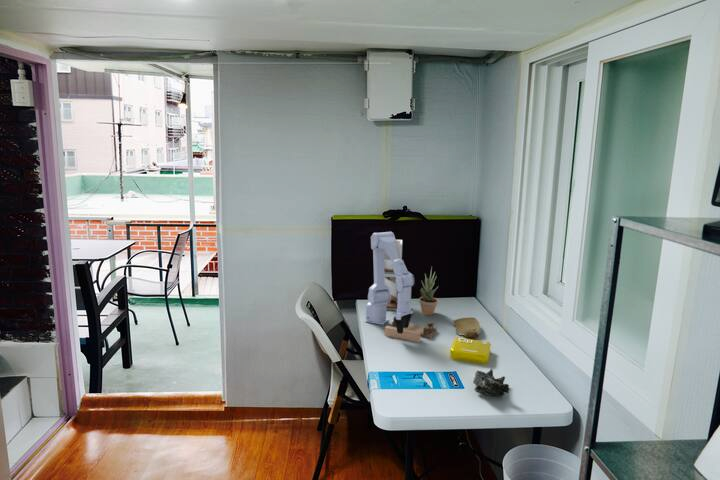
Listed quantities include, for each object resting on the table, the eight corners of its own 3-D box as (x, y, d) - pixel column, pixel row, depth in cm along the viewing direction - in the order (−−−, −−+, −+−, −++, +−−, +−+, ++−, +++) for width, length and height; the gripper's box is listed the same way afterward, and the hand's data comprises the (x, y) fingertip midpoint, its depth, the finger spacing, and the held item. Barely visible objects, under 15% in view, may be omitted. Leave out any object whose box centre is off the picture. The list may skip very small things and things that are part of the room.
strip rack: (388, 330, 228) (388, 321, 228) (395, 323, 237) (396, 315, 237) (430, 338, 221) (431, 329, 220) (436, 330, 230) (437, 322, 229)
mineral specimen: (520, 388, 167) (505, 362, 168) (489, 408, 166) (473, 381, 167) (506, 382, 182) (492, 358, 183) (477, 400, 180) (462, 376, 181)
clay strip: (384, 335, 223) (385, 327, 222) (386, 334, 225) (387, 325, 224) (418, 342, 216) (419, 334, 215) (420, 340, 219) (420, 332, 218)
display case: (379, 302, 268) (382, 238, 261) (399, 303, 267) (402, 239, 260) (378, 309, 257) (380, 243, 250) (399, 310, 256) (402, 244, 249)
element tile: (449, 360, 200) (450, 348, 199) (454, 346, 214) (455, 335, 213) (487, 366, 196) (488, 354, 195) (490, 351, 210) (491, 340, 209)
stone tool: (485, 341, 218) (476, 321, 242) (484, 332, 217) (475, 313, 242) (458, 343, 219) (452, 323, 243) (458, 334, 218) (451, 315, 243)
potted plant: (438, 316, 249) (441, 268, 244) (419, 316, 249) (422, 268, 244) (435, 309, 258) (438, 263, 254) (417, 309, 258) (419, 263, 254)
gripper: (407, 307, 209) (406, 337, 212) (417, 297, 222) (416, 326, 225) (391, 304, 212) (390, 334, 214) (402, 295, 225) (401, 323, 228)
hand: (402, 330), depth 220 cm, fingers open, 7 cm apart
